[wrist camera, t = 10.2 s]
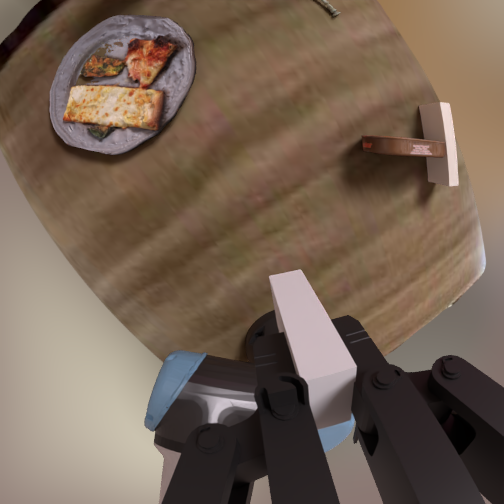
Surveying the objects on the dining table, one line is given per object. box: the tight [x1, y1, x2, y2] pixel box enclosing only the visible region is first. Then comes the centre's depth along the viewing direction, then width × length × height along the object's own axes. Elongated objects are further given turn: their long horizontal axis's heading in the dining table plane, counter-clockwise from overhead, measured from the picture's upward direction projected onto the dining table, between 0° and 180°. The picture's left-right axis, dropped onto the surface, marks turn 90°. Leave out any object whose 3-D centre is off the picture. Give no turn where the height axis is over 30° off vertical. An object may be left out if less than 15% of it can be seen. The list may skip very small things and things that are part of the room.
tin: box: [362, 135, 445, 158], centre depth 34 cm, size 15×3×8 cm, turn 96°
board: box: [419, 102, 458, 186], centre depth 35 cm, size 14×2×6 cm, turn 11°
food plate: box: [50, 15, 196, 155], centre depth 30 cm, size 25×23×4 cm
